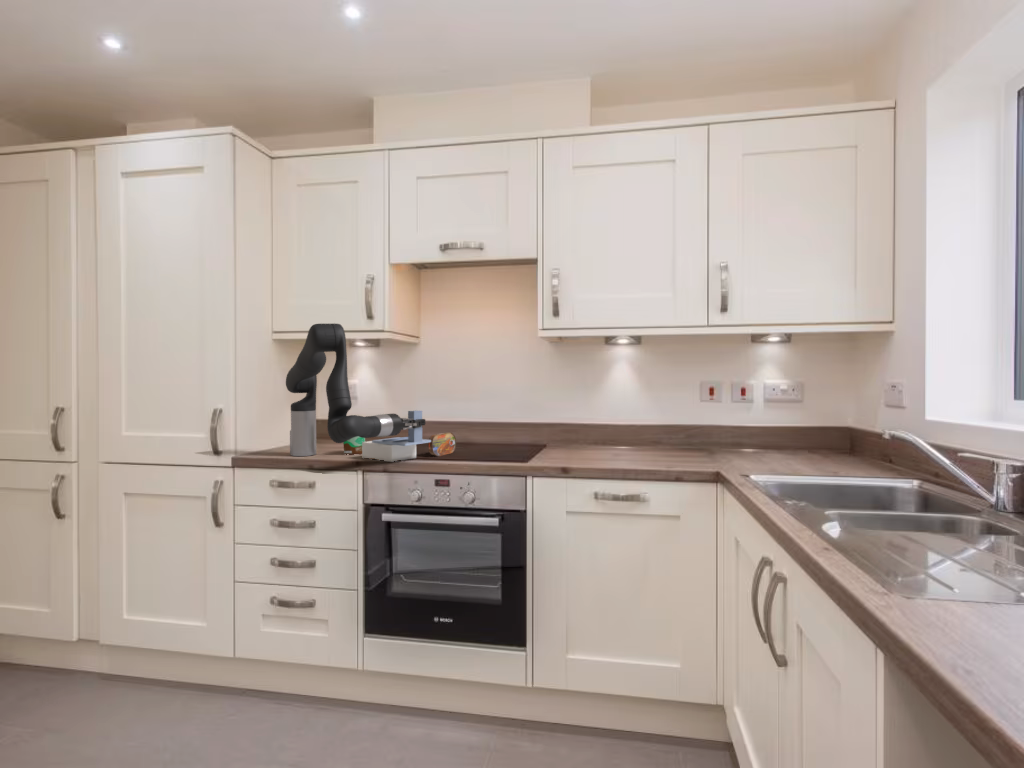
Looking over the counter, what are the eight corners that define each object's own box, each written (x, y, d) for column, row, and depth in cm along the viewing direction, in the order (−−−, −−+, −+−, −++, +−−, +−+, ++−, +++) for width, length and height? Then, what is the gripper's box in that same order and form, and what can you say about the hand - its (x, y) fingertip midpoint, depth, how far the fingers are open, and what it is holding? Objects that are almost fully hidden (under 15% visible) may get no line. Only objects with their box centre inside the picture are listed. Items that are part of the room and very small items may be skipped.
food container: (355, 456, 212) (355, 430, 212) (341, 455, 214) (341, 429, 214) (373, 452, 223) (373, 427, 223) (360, 451, 225) (360, 426, 225)
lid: (372, 442, 203) (371, 410, 202) (398, 439, 213) (398, 408, 213) (405, 445, 193) (404, 412, 192) (431, 442, 203) (430, 410, 203)
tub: (362, 458, 207) (362, 442, 206) (386, 454, 216) (386, 439, 216) (392, 462, 197) (391, 445, 197) (416, 457, 207) (416, 441, 207)
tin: (432, 457, 209) (432, 435, 208) (426, 456, 210) (426, 434, 210) (457, 452, 221) (456, 431, 221) (450, 452, 223) (450, 431, 223)
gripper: (399, 415, 183) (435, 412, 197) (370, 413, 191) (407, 410, 205) (399, 437, 183) (435, 433, 197) (370, 435, 191) (407, 430, 205)
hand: (420, 421), depth 201 cm, fingers closed on lid, 3 cm apart
